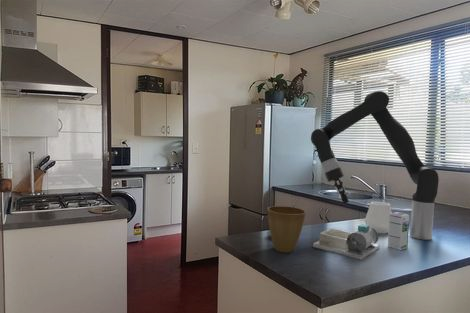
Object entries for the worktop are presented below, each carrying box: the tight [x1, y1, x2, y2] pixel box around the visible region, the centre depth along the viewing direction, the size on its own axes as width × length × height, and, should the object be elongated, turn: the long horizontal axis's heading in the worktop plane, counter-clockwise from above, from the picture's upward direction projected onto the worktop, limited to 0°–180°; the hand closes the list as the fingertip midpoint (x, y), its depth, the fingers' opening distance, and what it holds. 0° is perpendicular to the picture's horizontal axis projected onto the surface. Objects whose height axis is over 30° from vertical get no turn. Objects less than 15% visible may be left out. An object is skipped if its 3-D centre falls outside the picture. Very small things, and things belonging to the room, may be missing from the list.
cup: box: [364, 201, 393, 234], centre depth 172 cm, size 13×13×14 cm
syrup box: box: [387, 211, 410, 251], centre depth 146 cm, size 6×6×14 cm
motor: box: [312, 223, 381, 260], centre depth 143 cm, size 20×20×10 cm
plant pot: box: [267, 205, 307, 254], centre depth 137 cm, size 15×15×16 cm
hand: (346, 203), depth 157 cm, fingers open, 8 cm apart
